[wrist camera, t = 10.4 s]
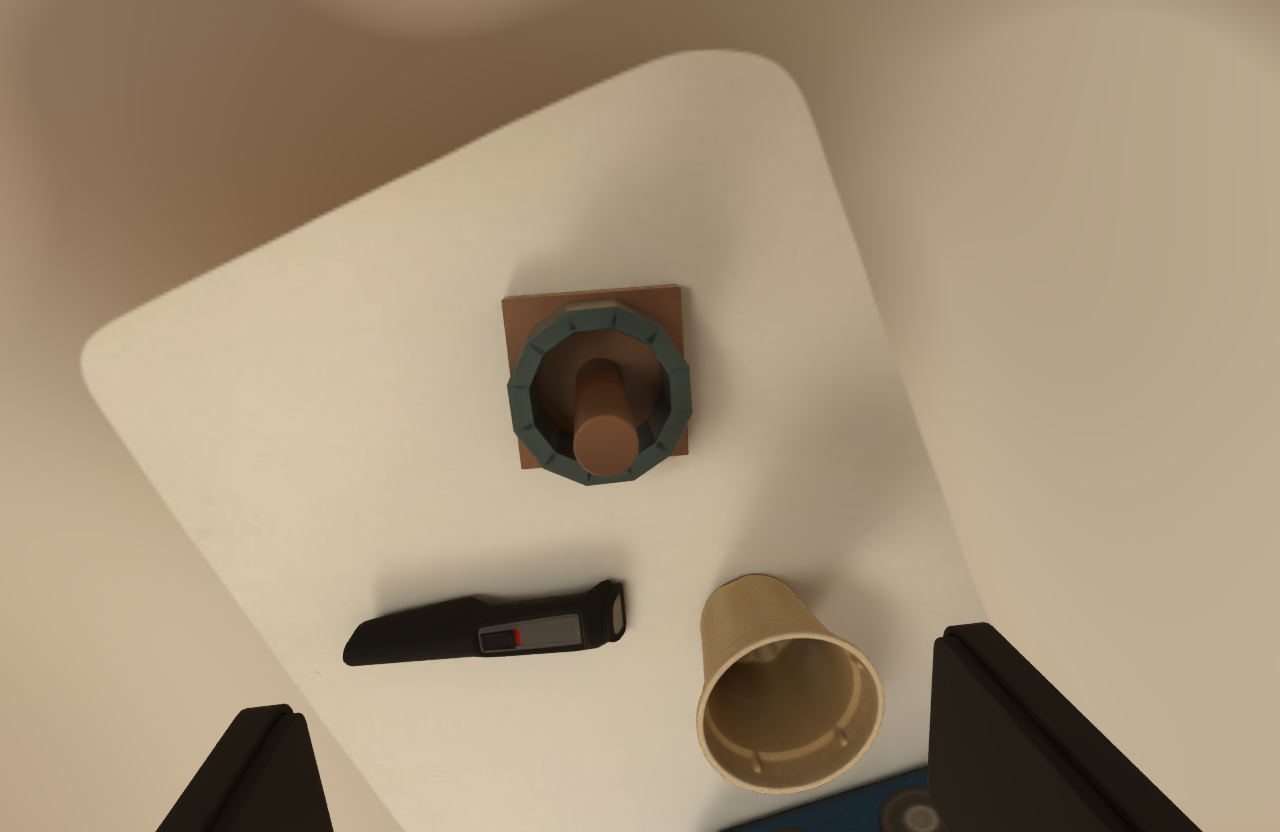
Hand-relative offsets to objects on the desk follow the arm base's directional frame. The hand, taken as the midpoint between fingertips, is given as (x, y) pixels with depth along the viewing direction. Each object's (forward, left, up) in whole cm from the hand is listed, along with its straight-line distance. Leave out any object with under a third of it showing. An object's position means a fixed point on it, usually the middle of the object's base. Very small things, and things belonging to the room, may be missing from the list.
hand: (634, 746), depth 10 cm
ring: (0, 0, -26) cm, 27 cm away
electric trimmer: (+15, -7, -28) cm, 32 cm away
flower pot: (+16, +8, -28) cm, 34 cm away
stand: (0, 0, -28) cm, 28 cm away
